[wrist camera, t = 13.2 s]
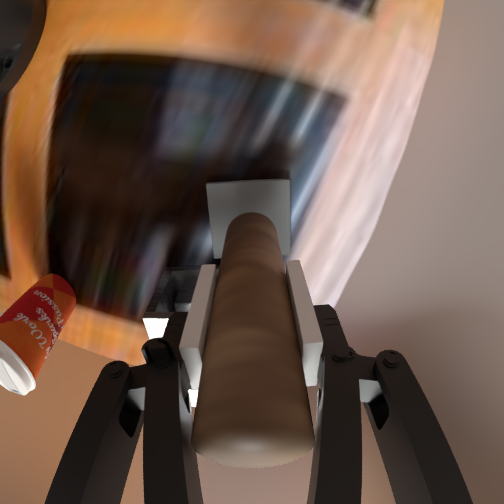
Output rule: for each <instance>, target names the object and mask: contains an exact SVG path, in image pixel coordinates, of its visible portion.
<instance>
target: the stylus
mask: <svg viewBox="0 0 504 504" xmlns="http://www.w3.org/2000/svg"><path fill="white" fill-rule="evenodd" d="M191 445H192V447H193V449H194V450H195V451H196V452H197V453H198V454H200V455H201V456H203V457H205V458H206V459H209V460H211V461H214V462H217V463H220V464H224V465H228V466H234V467H245V468H258V467H270V466H276V465H281V464H285V463H288V462H291V461H294V460H296V459H299V458H301V457H302V456H304V455H306V454H307V453H308V452H309V451H310V450H311V449H312V448H313V447H314V445H315V435H314V429H313V423H312V416H311V410H310V405H309V398H308V393H307V386H306V381H305V375H304V369H303V364H302V358H301V353H300V347H299V342H298V337H297V331H296V326H295V320H294V315H293V310H292V305H291V300H290V295H289V290H288V284H287V279H286V274H285V269H284V264H283V259H282V255H281V250H280V245H279V240H278V236H277V231H276V228H275V225H274V224H273V222H272V221H271V220H270V219H269V218H268V217H266V216H265V215H263V214H260V213H256V212H247V213H243V214H240V215H239V216H237V217H235V218H234V219H233V220H232V221H231V222H230V224H229V226H228V228H227V231H226V236H225V242H224V247H223V252H222V257H221V262H220V267H219V273H218V278H217V283H216V289H215V294H214V299H213V305H212V311H211V316H210V322H209V328H208V333H207V339H206V345H205V351H204V357H203V363H202V369H201V375H200V382H199V388H198V394H197V401H196V407H195V414H194V421H193V428H192V435H191Z"/></svg>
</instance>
